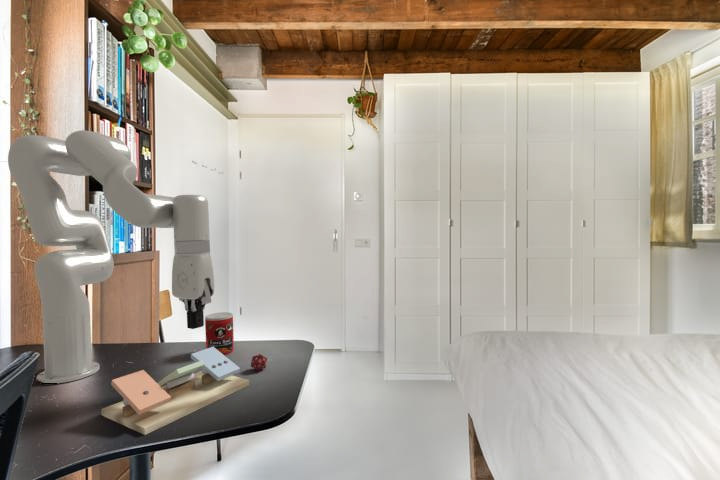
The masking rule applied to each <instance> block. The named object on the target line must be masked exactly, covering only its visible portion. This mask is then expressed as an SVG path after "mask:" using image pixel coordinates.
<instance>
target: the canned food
mask: <svg viewBox="0 0 720 480" xmlns="http://www.w3.org/2000/svg"><path fill="white" fill-rule="evenodd" d="M204 326H205V349H208V348H211V347H214V348H216V349H217V350H218V351H219V352H221V353H222V354H223V355H224V356H226V355H229V354H231V353H233V351H234V349H235V344H234V343H235V341H234V315H233V313H232V312H225V311H223V312H215V313H214V312H213V313H210V314H206V315H205V316H204Z"/></svg>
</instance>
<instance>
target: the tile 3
mask: <svg viewBox="0 0 720 480" xmlns="http://www.w3.org/2000/svg"><path fill="white" fill-rule="evenodd" d="M190 359H191V360H193V361H194V363H196V362H199V361H201V360H203V362H204V365H203V366H201V367H200V368H202V369H201V371H202V373H203V374H204V375H205V374H207V373H209V374H210V375H211V376H212V377H213V378H215V379H216V380H217V381H219V380H222V379H224V378H226V377H229V376H231V375H232V376H234V375H236V374H238V373H240V371H241V367H239V366H238V365H237V364H236V363H235V362H233V361H232V360H231V359H229V358H228V357H227V356H226V355H223V354H222V353H221V352H219V351H218V350H217V349H216V348H214V347H211V348H208V349H206V348H205V349H201V350H199V351H195V352H192V353H190Z"/></svg>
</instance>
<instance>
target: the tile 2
mask: <svg viewBox="0 0 720 480" xmlns="http://www.w3.org/2000/svg"><path fill="white" fill-rule="evenodd" d="M203 365H204V362H203V360H201V361H199V362H193V363H191V364H188V365H185V366H182V367H179V368H176V369H175V370H174V371H172V372H170V373H169V374H168V375H166V376H165V377H163V378H162V379H160V380H159V381H158V382H156V383H157V384H158V385H160V386H161V387H164V386H166V387H167V388H168V389H169V388H172V387H174V386H177V385H179V384H182V383H184V382H187V381H189V380H192V379H194V374H195V373H194V372H195V371H197V370H199V368H202V367H201V366H203Z"/></svg>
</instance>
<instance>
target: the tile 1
mask: <svg viewBox="0 0 720 480" xmlns="http://www.w3.org/2000/svg"><path fill="white" fill-rule="evenodd" d="M157 383H158V382H157V381H156V380H155V379H153V377H152V376H150V375H149V374H148V373H147V372H146V370H144V369H141V370H138V371H135V372H132V373H130V374H125V375H123V376H120V377H117V378H114V379H112V380H111V383H110V385H111V386H112V387H113V388H114V389H115V391H116V392H117V393H118V394H119V395H120V396H121V398H123V399H122V401H123V403H124V405H125V406H126V405H130V406H131V407H132V408H133V409H134V410H135V411H136V412H137V413H138V414H139V415H140V414H142V413H144V412H147V411H149V410H151V409H154V408H156V407H158V406H161V405H163V404H165V403H168V402H170V401H171V396H170V395H169V394H168V393H167V392H166V391H165V390H164V389H163V388H162V387H161V386H160V385H158V384H157Z"/></svg>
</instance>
